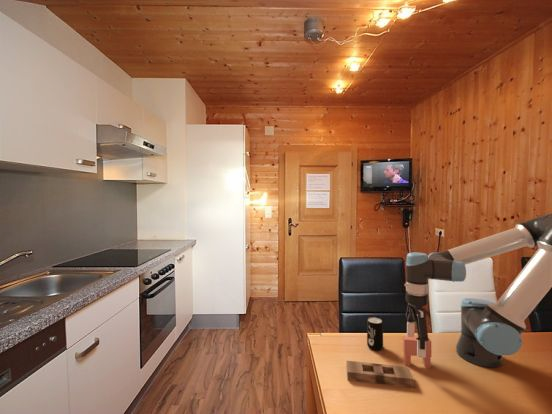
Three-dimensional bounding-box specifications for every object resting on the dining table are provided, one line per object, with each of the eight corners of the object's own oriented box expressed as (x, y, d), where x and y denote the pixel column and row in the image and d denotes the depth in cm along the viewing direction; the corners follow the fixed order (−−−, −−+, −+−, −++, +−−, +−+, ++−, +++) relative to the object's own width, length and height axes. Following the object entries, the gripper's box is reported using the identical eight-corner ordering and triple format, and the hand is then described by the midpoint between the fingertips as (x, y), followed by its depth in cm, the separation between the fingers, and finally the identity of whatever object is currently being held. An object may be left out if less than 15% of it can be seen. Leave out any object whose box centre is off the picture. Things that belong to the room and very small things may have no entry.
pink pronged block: (429, 363, 106) (429, 338, 106) (431, 367, 103) (431, 341, 103) (402, 361, 108) (402, 336, 108) (404, 364, 105) (404, 339, 105)
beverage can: (384, 352, 114) (384, 324, 114) (368, 350, 116) (368, 322, 116) (381, 344, 121) (381, 317, 121) (366, 342, 122) (366, 316, 122)
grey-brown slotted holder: (408, 374, 99) (408, 366, 99) (414, 387, 93) (413, 379, 92) (346, 368, 104) (346, 360, 104) (347, 380, 97) (347, 371, 97)
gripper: (398, 282, 118) (397, 330, 119) (415, 304, 94) (414, 364, 94) (417, 283, 117) (416, 332, 117) (439, 306, 92) (438, 367, 93)
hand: (415, 346), depth 106 cm, fingers open, 13 cm apart
